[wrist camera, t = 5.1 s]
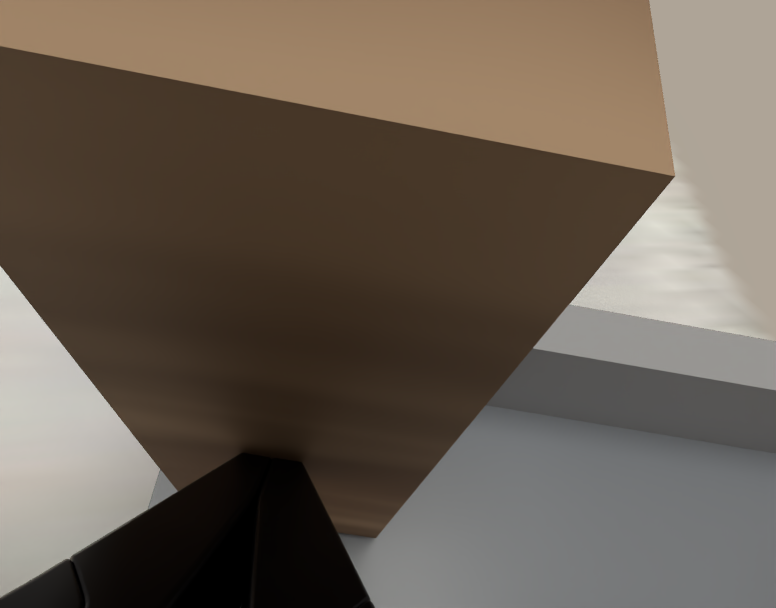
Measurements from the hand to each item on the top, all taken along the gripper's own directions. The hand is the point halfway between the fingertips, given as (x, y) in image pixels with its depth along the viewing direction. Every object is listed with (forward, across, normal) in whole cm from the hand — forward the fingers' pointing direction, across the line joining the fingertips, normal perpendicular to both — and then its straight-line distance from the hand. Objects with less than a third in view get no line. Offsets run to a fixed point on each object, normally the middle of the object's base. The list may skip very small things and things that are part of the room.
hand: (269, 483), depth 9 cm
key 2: (+5, 0, +2) cm, 5 cm away
